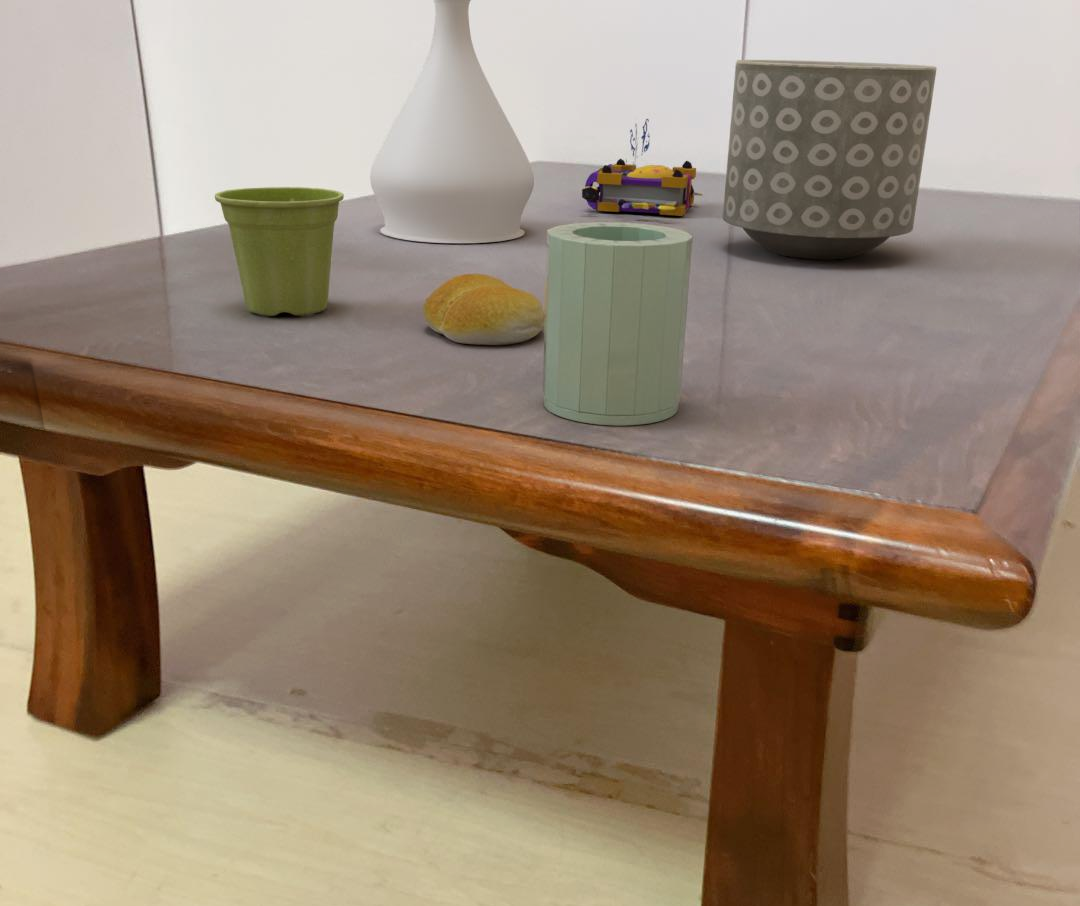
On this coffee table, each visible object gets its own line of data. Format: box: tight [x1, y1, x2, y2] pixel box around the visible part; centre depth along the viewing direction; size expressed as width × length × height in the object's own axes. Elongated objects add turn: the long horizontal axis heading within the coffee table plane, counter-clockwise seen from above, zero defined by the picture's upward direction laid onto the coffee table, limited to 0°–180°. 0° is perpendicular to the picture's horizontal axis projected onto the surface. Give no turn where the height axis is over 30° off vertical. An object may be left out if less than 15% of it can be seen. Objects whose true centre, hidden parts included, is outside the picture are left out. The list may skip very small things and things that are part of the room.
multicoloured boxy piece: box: [581, 118, 703, 217], centre depth 147 cm, size 15×25×12 cm, turn 167°
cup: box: [542, 221, 693, 427], centre depth 68 cm, size 8×8×10 cm
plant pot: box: [214, 186, 345, 317], centre depth 89 cm, size 9×9×9 cm
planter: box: [722, 59, 938, 261], centre depth 118 cm, size 19×19×18 cm
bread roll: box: [422, 273, 545, 346], centre depth 85 cm, size 8×9×4 cm
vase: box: [369, 0, 535, 244], centre depth 123 cm, size 17×17×25 cm
